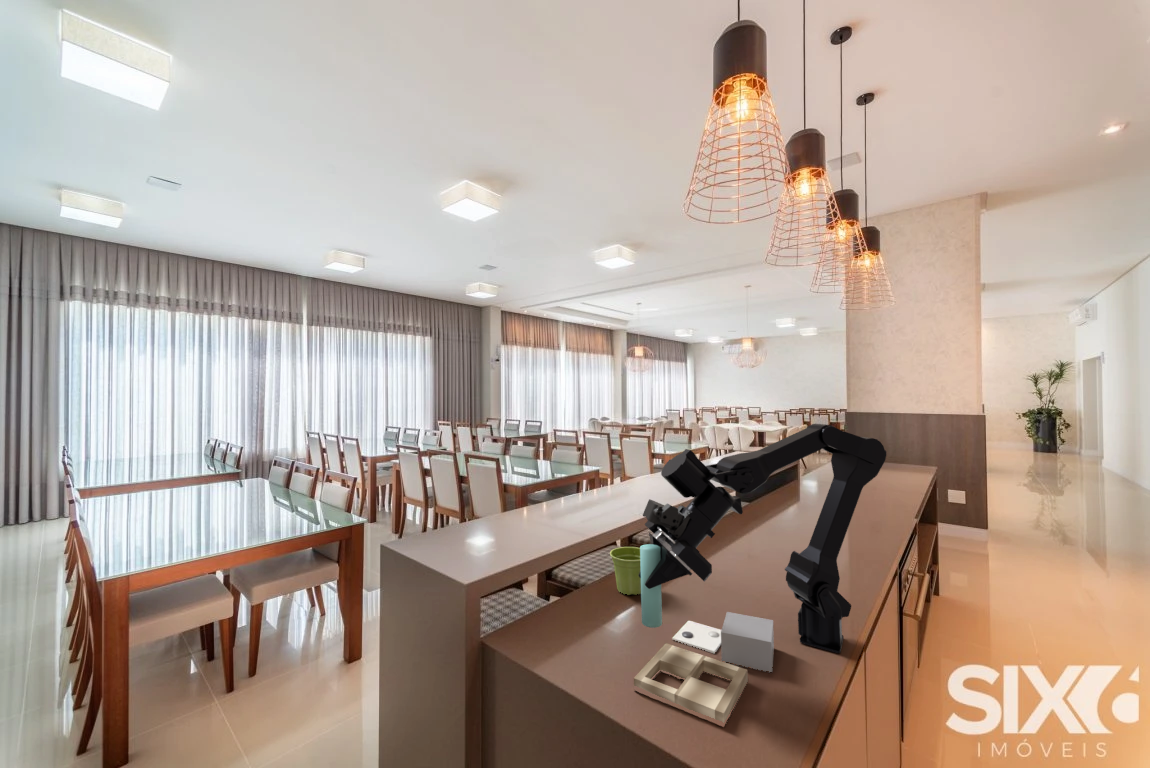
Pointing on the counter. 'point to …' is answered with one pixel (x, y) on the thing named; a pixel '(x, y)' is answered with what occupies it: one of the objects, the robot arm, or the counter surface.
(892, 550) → the counter surface
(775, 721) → the counter surface
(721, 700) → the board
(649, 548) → the pin
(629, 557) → the plant pot
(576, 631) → the counter surface
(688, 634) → the pattern tile
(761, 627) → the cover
